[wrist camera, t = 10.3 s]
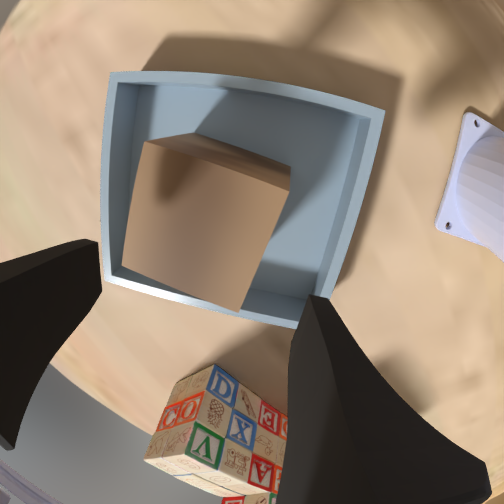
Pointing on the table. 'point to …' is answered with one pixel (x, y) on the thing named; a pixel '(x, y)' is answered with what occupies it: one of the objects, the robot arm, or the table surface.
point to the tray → (258, 141)
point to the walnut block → (203, 215)
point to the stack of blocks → (221, 439)
